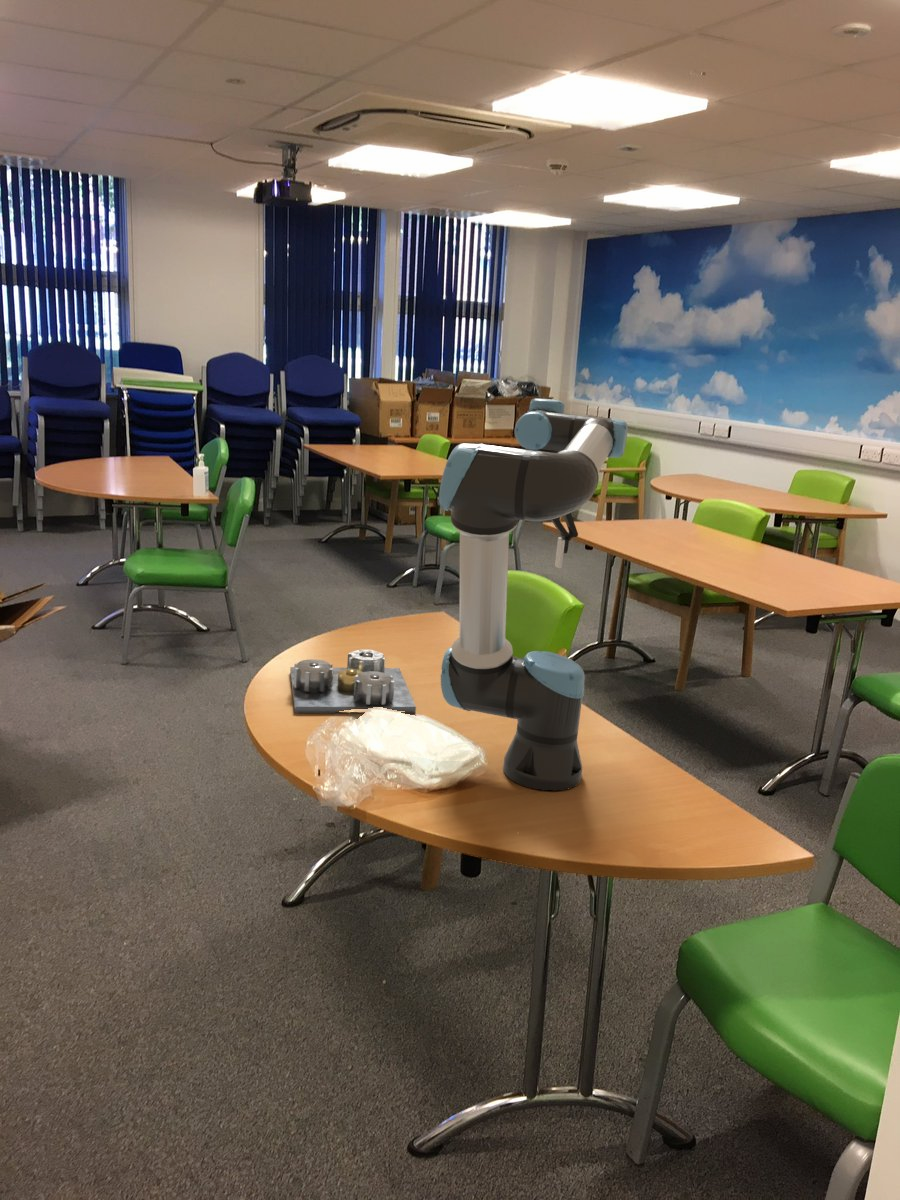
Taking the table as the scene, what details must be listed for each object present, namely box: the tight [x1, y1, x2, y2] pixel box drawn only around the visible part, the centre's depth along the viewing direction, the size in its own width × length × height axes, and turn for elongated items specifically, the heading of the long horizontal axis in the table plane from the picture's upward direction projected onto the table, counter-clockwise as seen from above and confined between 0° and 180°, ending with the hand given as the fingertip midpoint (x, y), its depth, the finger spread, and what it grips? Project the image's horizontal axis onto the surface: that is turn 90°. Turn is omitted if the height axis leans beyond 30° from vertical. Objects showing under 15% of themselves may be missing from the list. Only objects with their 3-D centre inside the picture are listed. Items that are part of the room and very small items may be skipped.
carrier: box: [289, 653, 417, 714], centre depth 210 cm, size 24×26×7 cm
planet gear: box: [346, 649, 386, 673], centre depth 218 cm, size 8×8×5 cm
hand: (529, 566), depth 208 cm, fingers open, 13 cm apart
